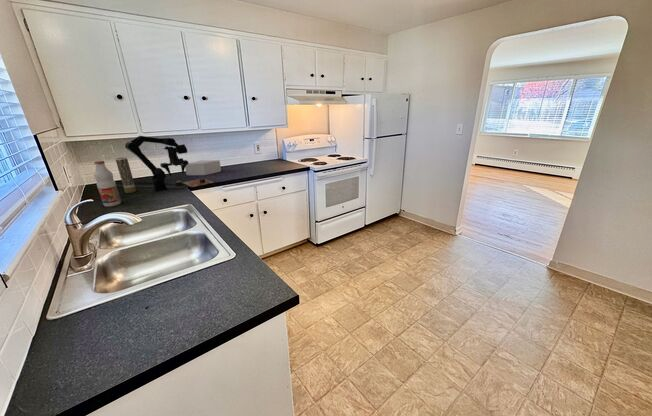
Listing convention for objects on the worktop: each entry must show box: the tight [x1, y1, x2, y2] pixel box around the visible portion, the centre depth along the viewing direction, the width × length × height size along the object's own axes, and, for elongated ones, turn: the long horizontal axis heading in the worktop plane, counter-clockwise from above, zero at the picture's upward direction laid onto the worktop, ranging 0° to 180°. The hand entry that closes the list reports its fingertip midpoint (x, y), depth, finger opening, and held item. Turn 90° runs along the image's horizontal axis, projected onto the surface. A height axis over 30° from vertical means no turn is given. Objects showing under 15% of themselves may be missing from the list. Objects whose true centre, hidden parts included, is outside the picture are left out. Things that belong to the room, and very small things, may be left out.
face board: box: [182, 178, 215, 188], centre depth 219 cm, size 18×18×1 cm
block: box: [184, 159, 222, 176], centre depth 248 cm, size 15×30×11 cm, turn 119°
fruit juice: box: [93, 160, 122, 207], centre depth 168 cm, size 9×9×28 cm
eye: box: [198, 177, 206, 183], centre depth 217 cm, size 4×4×3 cm
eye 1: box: [175, 180, 183, 187], centre depth 213 cm, size 4×4×3 cm
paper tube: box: [115, 157, 137, 194], centre depth 193 cm, size 7×7×25 cm
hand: (176, 174), depth 210 cm, fingers open, 9 cm apart
